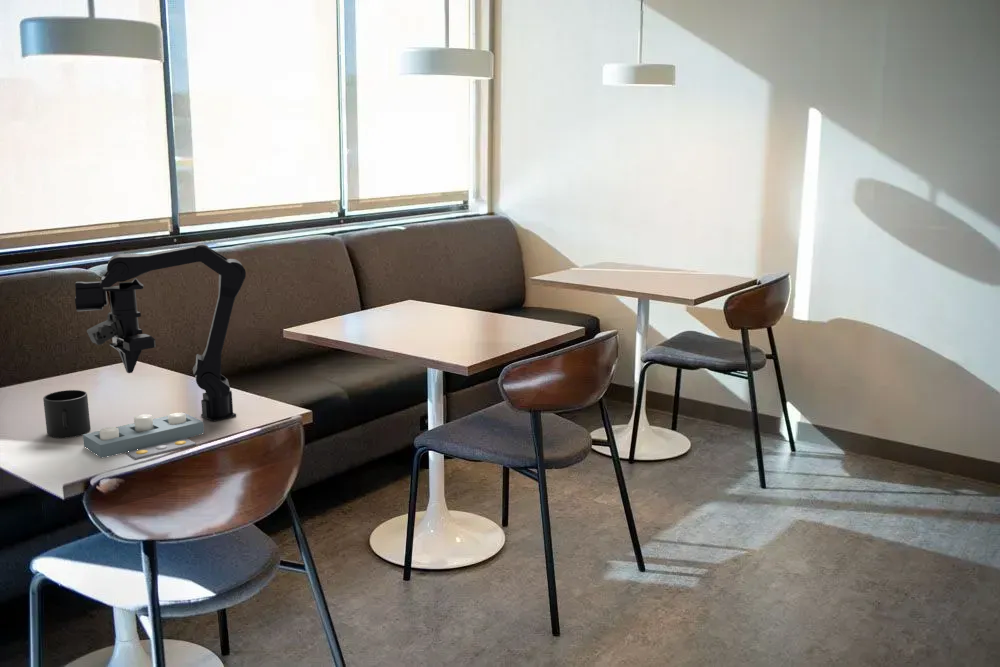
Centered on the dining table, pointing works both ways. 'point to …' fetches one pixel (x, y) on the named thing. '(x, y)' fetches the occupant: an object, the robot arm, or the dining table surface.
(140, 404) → the dining table surface
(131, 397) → the dining table surface
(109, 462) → the dining table surface
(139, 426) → the button mid
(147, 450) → the card
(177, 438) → the button board
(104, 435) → the button
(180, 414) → the button
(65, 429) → the mug
